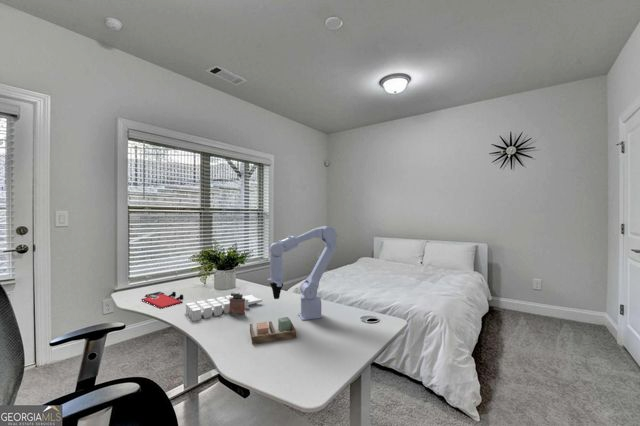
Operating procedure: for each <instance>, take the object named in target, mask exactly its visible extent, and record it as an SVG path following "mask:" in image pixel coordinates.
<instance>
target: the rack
mask: <svg viewBox="0 0 640 426" xmlns="http://www.w3.org/2000/svg"><path fill="white" fill-rule="evenodd" d="M268 328H269V333H266V334H264V335H263V334H259V335H257V334H256V335H255V330H254V326H253V323H249V334H250V339H251V344H252V345H254V344H262V343H268V342H276V341H283V340H290V339H291V340H292V339H296V338H297V336H298V335H297V330H296V328H295V325H294V324H293V322H292V321H291V331H283V332H279V331H278V332H277V331H276V330H275V326H274V324H273V322H272V321H268Z"/></svg>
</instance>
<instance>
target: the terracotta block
mask: <svg viewBox="0 0 640 426" xmlns="http://www.w3.org/2000/svg"><path fill="white" fill-rule="evenodd" d="M266 333H269V334H270V329H269V324H268V322H267V321H265V322H257V323H256V335H259V334H263V335H264V334H266Z"/></svg>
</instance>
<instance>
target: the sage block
mask: <svg viewBox="0 0 640 426" xmlns="http://www.w3.org/2000/svg"><path fill="white" fill-rule="evenodd" d="M277 321H278V322H277V323H278V325H277V326H278V329H277V330H278V332H283V331H291V322H292V321H291V319H290V318H289V317H288V316H285V317H279V318H277Z"/></svg>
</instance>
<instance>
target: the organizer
mask: <svg viewBox="0 0 640 426" xmlns="http://www.w3.org/2000/svg"><path fill="white" fill-rule="evenodd" d="M231 297H233V296H231V294H229V295H224V296H218V297H215V298H209V299H206V300H203V299H202V300H198V301H195V302H196V303H195V302H194V301H193V302H189V303H188V302H187V303H185V313H186V315H188V316H189V318H190V319H191V320H192V321H193V322H194V321H197V320H198V321H199V320H201V319H202V318H203V319H207V318H213V316H215V317H216V316H220V315H223V314H229V312H230V300H229V298H231ZM242 298H245V310H246V309H249V305H254V304H258V303H261V302H263V298H258V297H256V296H255V294H250V295H249V294H248V295H243V297H242Z"/></svg>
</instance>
